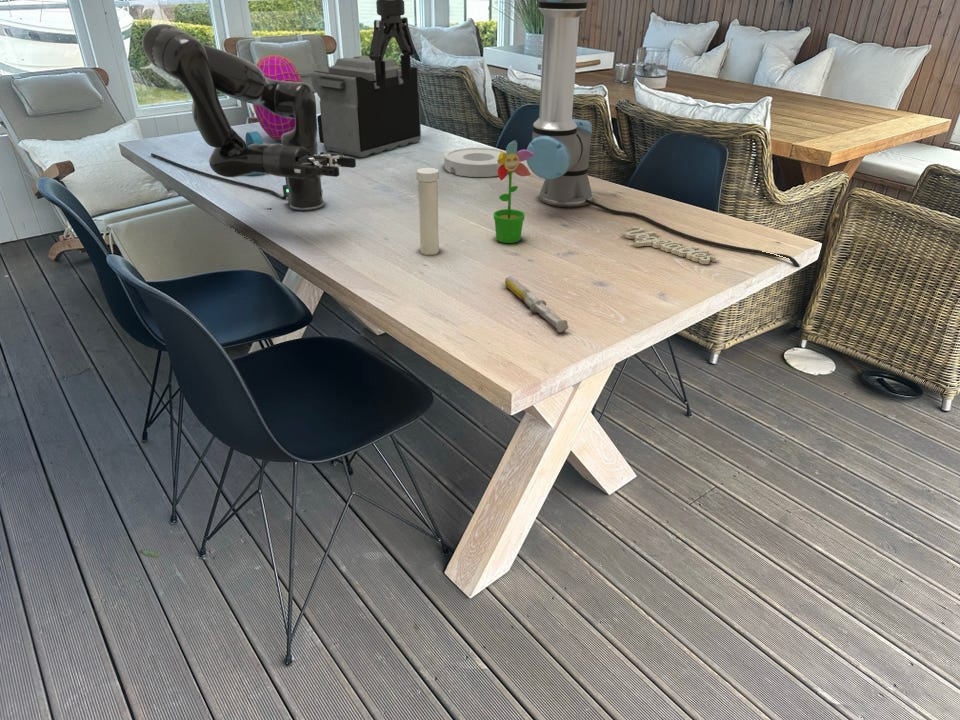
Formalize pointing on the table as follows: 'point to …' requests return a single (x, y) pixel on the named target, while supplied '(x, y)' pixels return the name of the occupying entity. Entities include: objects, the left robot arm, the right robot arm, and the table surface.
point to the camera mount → (253, 141)
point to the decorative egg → (279, 71)
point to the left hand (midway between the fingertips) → (347, 167)
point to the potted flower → (510, 219)
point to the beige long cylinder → (428, 217)
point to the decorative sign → (669, 245)
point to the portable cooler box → (366, 107)
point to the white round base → (473, 162)
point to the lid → (427, 174)
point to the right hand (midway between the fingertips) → (394, 83)
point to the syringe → (535, 304)
